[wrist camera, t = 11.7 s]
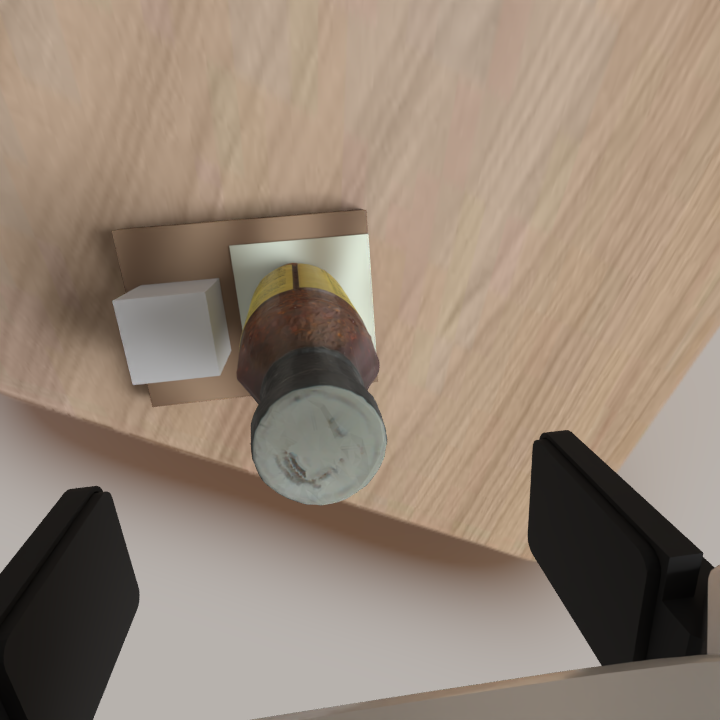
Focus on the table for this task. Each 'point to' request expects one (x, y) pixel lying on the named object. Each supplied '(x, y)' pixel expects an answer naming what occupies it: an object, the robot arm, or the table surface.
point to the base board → (245, 273)
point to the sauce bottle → (310, 387)
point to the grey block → (173, 330)
